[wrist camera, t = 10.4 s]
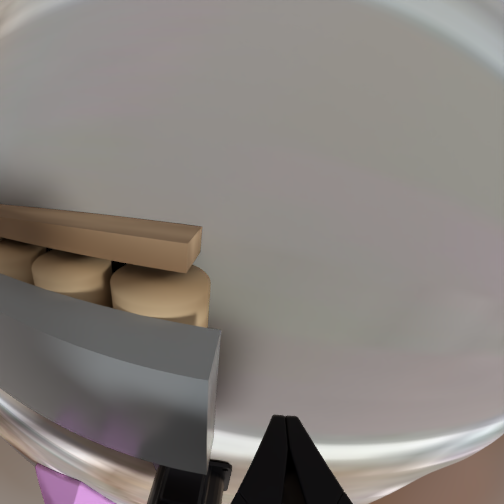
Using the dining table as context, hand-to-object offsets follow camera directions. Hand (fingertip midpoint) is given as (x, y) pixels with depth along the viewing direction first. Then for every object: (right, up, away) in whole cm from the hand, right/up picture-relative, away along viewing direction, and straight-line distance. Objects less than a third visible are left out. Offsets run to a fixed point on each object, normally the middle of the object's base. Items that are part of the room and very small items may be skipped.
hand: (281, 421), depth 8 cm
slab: (-8, +2, +1) cm, 8 cm away
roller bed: (-14, +3, +4) cm, 15 cm away
